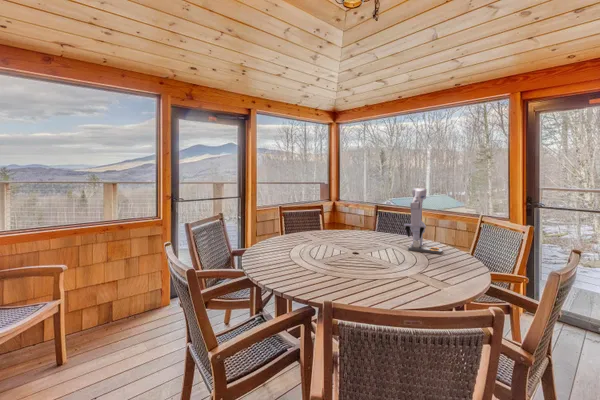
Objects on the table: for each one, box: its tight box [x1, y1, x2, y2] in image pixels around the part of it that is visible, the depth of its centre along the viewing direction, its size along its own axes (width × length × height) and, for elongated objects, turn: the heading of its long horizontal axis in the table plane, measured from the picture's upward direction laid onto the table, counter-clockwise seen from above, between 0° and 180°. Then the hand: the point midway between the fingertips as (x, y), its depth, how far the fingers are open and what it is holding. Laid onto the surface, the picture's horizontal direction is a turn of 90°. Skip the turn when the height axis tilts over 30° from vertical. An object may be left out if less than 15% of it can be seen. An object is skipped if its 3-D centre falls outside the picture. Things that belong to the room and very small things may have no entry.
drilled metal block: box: [412, 240, 420, 248], centre depth 220 cm, size 4×4×7 cm
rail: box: [407, 244, 444, 255], centre depth 217 cm, size 8×22×2 cm, turn 60°
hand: (414, 237), depth 216 cm, fingers open, 7 cm apart
